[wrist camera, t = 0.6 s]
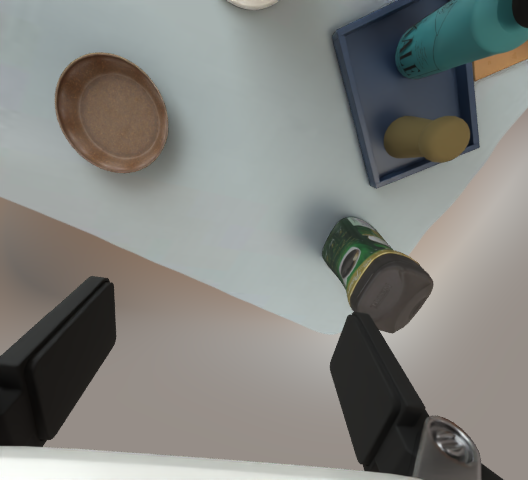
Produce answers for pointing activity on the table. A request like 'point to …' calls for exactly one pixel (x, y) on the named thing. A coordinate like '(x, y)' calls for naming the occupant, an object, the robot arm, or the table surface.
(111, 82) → the saucer
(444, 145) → the pepper shaker
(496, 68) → the orange brown rectangular board
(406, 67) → the beverage bottle
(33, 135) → the table surface
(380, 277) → the coffee jar
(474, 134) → the tray
